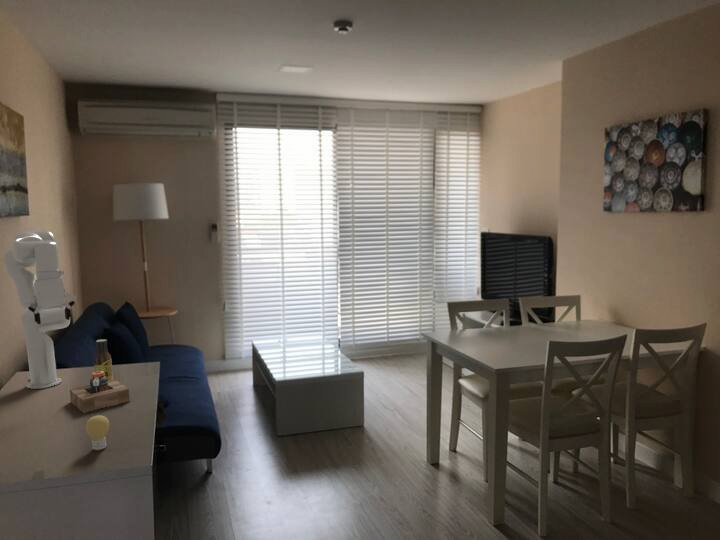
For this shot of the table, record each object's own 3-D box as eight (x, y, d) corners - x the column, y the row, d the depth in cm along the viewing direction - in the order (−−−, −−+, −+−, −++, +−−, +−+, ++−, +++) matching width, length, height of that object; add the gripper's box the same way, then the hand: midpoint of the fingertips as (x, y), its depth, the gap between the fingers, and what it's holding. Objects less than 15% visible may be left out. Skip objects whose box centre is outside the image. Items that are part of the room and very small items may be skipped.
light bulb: (92, 444, 172) (89, 413, 171) (114, 443, 172) (111, 411, 171) (84, 454, 165) (80, 421, 164) (107, 452, 166) (103, 419, 165)
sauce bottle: (108, 392, 222) (104, 342, 219) (93, 392, 222) (88, 342, 220) (117, 386, 228) (112, 338, 226) (101, 387, 228) (97, 338, 226)
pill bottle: (102, 405, 207) (99, 374, 206) (88, 404, 208) (85, 374, 207) (112, 399, 213) (110, 369, 212) (98, 398, 214) (95, 369, 213)
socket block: (71, 402, 211) (69, 389, 211) (115, 391, 222) (114, 379, 221) (83, 413, 199) (81, 399, 199) (129, 401, 210) (128, 388, 209)
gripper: (71, 272, 217) (75, 316, 219) (19, 277, 206) (24, 324, 208) (76, 273, 211) (81, 319, 213) (23, 279, 200) (29, 326, 202)
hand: (53, 321), depth 210 cm, fingers open, 9 cm apart
